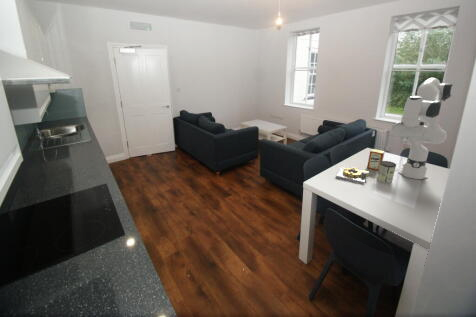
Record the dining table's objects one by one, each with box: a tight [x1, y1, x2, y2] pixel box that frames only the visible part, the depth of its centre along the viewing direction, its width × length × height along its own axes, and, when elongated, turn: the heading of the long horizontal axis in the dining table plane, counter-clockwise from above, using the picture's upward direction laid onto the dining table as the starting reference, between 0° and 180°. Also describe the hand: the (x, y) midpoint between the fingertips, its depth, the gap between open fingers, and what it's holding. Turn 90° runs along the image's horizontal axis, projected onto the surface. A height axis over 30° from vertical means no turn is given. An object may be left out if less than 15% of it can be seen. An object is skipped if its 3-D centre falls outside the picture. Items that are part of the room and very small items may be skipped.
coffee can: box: [376, 160, 397, 184], centre depth 175 cm, size 10×10×14 cm
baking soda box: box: [366, 148, 385, 172], centre depth 195 cm, size 10×6×16 cm
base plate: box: [335, 166, 367, 185], centre depth 184 cm, size 20×20×6 cm
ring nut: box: [343, 167, 370, 178], centre depth 182 cm, size 13×18×4 cm
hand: (403, 142), depth 153 cm, fingers closed
